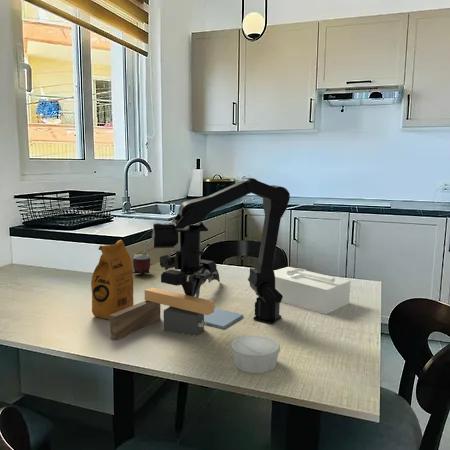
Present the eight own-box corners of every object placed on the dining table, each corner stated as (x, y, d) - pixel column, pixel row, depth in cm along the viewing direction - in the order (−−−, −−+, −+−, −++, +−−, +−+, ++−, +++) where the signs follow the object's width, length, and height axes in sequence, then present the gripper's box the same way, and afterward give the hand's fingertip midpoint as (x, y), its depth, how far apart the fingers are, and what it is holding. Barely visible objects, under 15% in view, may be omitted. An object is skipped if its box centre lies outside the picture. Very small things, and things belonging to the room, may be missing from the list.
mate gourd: (134, 270, 180) (133, 235, 178) (153, 270, 181) (152, 235, 179) (132, 275, 173) (131, 239, 171) (152, 275, 174) (151, 239, 172)
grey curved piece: (218, 282, 166) (218, 257, 164) (221, 283, 166) (222, 257, 164) (190, 306, 139) (190, 276, 138) (194, 306, 139) (194, 277, 137)
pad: (242, 317, 129) (242, 314, 129) (223, 329, 120) (223, 326, 120) (204, 308, 137) (204, 305, 137) (183, 319, 127) (183, 316, 127)
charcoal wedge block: (207, 331, 120) (208, 310, 119) (200, 338, 115) (200, 316, 114) (172, 324, 124) (172, 304, 123) (163, 331, 119) (163, 310, 118)
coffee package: (86, 316, 128) (83, 245, 125) (112, 304, 140) (110, 237, 136) (113, 322, 125) (111, 248, 121) (138, 308, 136) (137, 240, 132)
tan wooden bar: (214, 311, 115) (214, 301, 114) (207, 315, 112) (207, 304, 112) (151, 297, 126) (151, 287, 126) (144, 299, 124) (144, 289, 123)
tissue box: (287, 289, 159) (288, 260, 158) (348, 305, 142) (350, 273, 140) (262, 297, 149) (263, 267, 147) (325, 317, 132) (327, 282, 130)
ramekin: (223, 371, 97) (224, 350, 96) (239, 351, 107) (240, 331, 106) (272, 381, 93) (272, 358, 92) (283, 359, 103) (284, 338, 102)
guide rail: (160, 318, 128) (160, 297, 127) (115, 340, 112) (115, 316, 111) (155, 317, 129) (155, 296, 128) (110, 338, 114) (109, 314, 113)
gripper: (187, 238, 130) (186, 288, 133) (145, 249, 115) (145, 305, 117) (217, 243, 124) (217, 294, 127) (177, 254, 109) (177, 313, 111)
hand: (189, 301), depth 121 cm, fingers closed
